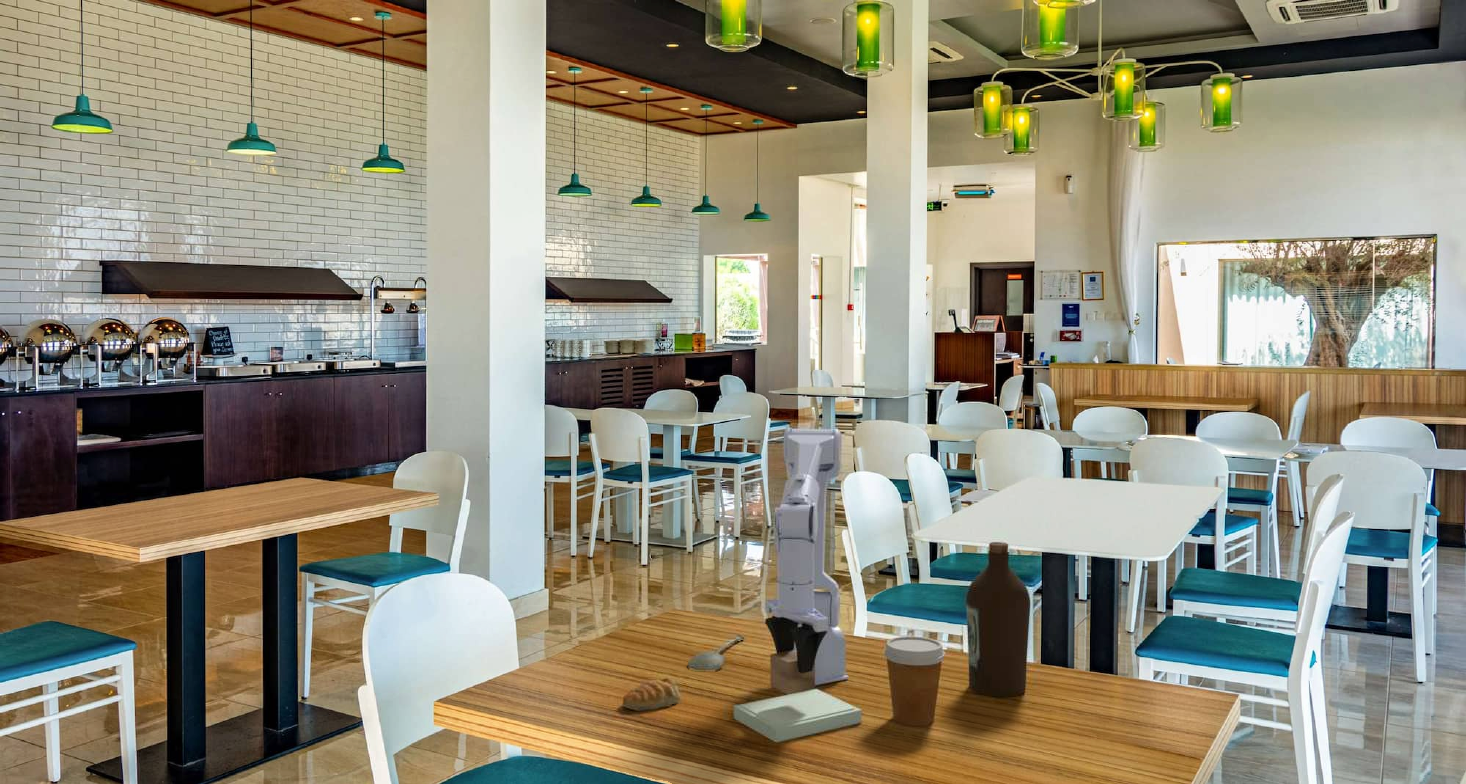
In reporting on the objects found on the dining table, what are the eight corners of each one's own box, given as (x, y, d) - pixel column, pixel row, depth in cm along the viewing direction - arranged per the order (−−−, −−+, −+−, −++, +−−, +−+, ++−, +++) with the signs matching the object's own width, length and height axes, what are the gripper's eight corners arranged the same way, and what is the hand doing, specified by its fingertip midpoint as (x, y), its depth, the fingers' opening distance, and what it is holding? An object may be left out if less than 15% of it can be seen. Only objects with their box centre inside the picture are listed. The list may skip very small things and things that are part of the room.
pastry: (638, 717, 170) (637, 693, 170) (613, 706, 175) (612, 683, 175) (683, 704, 177) (683, 681, 176) (658, 694, 182) (658, 672, 182)
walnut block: (796, 680, 171) (796, 649, 171) (814, 689, 167) (815, 657, 167) (770, 685, 169) (770, 654, 168) (788, 694, 164) (788, 662, 164)
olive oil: (1022, 679, 188) (1024, 538, 187) (1035, 699, 178) (1037, 550, 177) (961, 678, 189) (962, 537, 188) (970, 698, 179) (971, 549, 177)
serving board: (816, 700, 177) (816, 687, 177) (861, 722, 167) (861, 708, 167) (733, 718, 169) (733, 704, 169) (776, 742, 159) (776, 728, 159)
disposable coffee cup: (907, 734, 162) (908, 655, 162) (871, 714, 171) (871, 640, 170) (957, 723, 167) (957, 647, 166) (919, 705, 175) (920, 632, 175)
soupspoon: (681, 676, 194) (715, 682, 192) (682, 658, 194) (715, 663, 192) (725, 640, 215) (756, 645, 212) (726, 623, 214) (757, 628, 212)
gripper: (749, 575, 171) (749, 659, 172) (801, 593, 159) (800, 683, 160) (785, 570, 175) (785, 652, 176) (839, 587, 163) (839, 676, 163)
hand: (795, 667), depth 168 cm, fingers closed on walnut block, 5 cm apart
